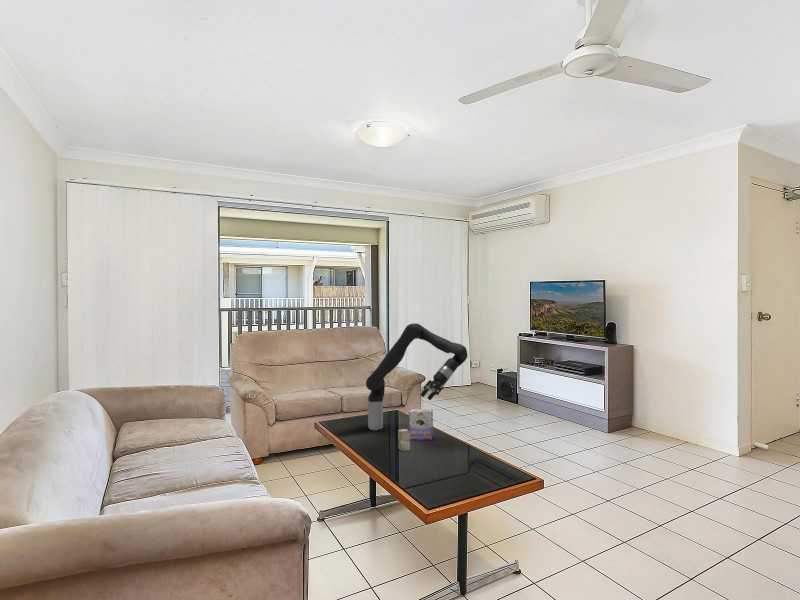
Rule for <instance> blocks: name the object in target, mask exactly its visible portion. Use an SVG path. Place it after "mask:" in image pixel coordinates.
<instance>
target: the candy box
mask: <svg viewBox="0 0 800 600" xmlns="http://www.w3.org/2000/svg"><path fill="white" fill-rule="evenodd" d="M433 417H434V415H433V409H417V408H416V409H414V408H412V409H411V408H410V409H409V411H408V430H409V431H410V441H413V440H414V441H417V440H418V441H433V438H434V419H433Z"/></svg>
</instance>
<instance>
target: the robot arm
mask: <svg viewBox="0 0 800 600" xmlns="http://www.w3.org/2000/svg"><path fill="white" fill-rule="evenodd" d="M416 339H417V340H418V339H419V340H421V341H425V342H427V343H429V344H431V345H432V346H433V347H434V348H436V349H437V350H439V351H442V352H443V353H446V354H450V353H451V354H453V356H452V357H450V358H448V359H447V360H446V361H445V362H444V364H443V365H442V366H440V368H439V369H438V370H437V372H436V373H435V374H434V375H433V380H431V379H429V380H428V381H427V382H426V383H425V385H424V386H423V390H422V391H421V393H420V397H422V398H424V397H425V396H426V395H427V394H428V392H430V391H431V392H430V394H429V395H428V396H427V400H429V401H431V400H432V399H433V398H434V396H438V395H439V394H440V393H441V392H442V390H443V389H444V387H445V384H446V383H447V382H448V381H449V380H450V378H451V377H452V376H453V374H454V373H455V372H456V370H458V367H460V366H461V365H462V364H463V363H464V362H465V361H466V360H467V358H468V350H467V347H466V346H464V345H463V344H460V343H457V342H453V341H452V342H451V341H450V340H448V339H446V338H444V337H442V336H439V335H437V334H435V333H434V332H432V331H430V330H428V329H427V328H425V327H424V326H422V325H421V324H420V323H410V324H408V325H407V326H405V328H404V329H403V331H402V333H401V335H400V336H399V338H398V340H397V341H396V342H395V343H394V344H393V346H392V347H391V348H390V350H388V351H387V353H386V355H385V356H384V358H383V359H382V361H381V362H380V363H379V365H378V366H377V368H375V370H374V371H373V372H372V373H371V374H370V375H369V376H368V377H367V378H366V382H365V386H366V388H367V389H368V390H369V391H370V394H369V395H368V399H367V403H368V404H367V405H368V407H367V409H368V411H367V416H368V417H367V427H368V428H369V430H371V431H380V430H383V429H384V397H385V388H386V387H385V386H386V385H385V383H386V381H385V378H386V377H387V375H388V374H389V373H391V372H392V371H393V370H394V369H395V368H396V367H397V366H398V365H399V364H400V363H401V361H402V360H403V358H404V356H405V354H406V352H407V348H408V347H409V346H410V344H412V342H413V341H414V340H416ZM382 428H383V429H382ZM379 429H380V430H379Z"/></svg>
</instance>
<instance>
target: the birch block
mask: <svg viewBox="0 0 800 600" xmlns="http://www.w3.org/2000/svg"><path fill="white" fill-rule="evenodd" d="M397 430H398V432H397V433H398V440H397V441H398V442H397V443H398V450H400V451H401V452H406V451H411V444H410V443H411V440H410V431H409V429H407V428H405V429H403V428H402V429H397Z"/></svg>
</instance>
